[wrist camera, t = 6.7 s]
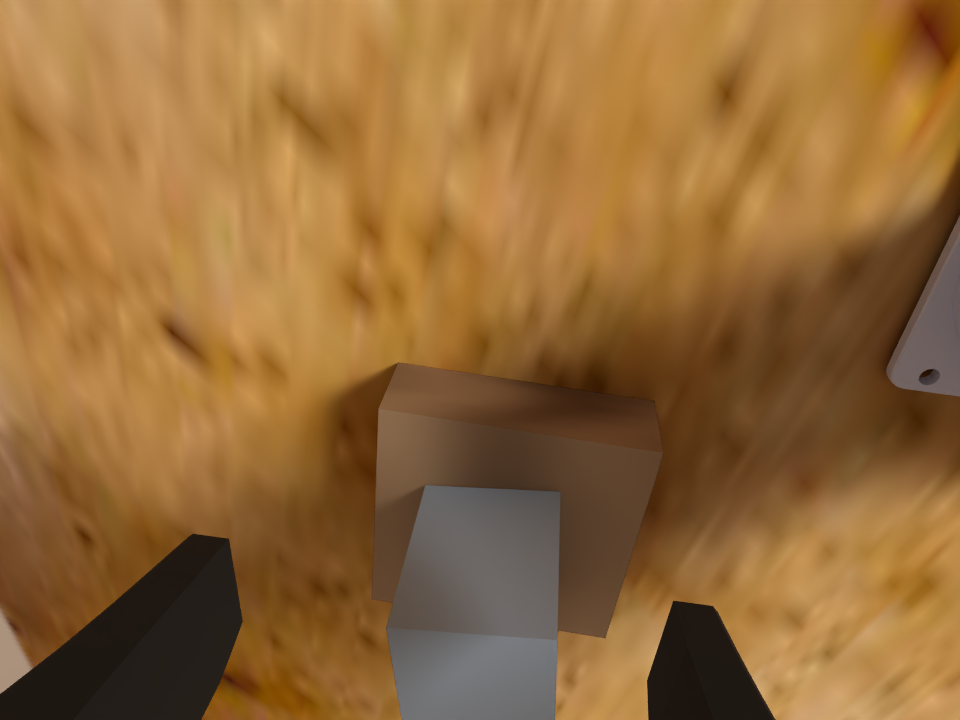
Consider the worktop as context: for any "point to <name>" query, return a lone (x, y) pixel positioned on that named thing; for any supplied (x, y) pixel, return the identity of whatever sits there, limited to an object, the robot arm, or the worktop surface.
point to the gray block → (478, 606)
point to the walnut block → (520, 471)
